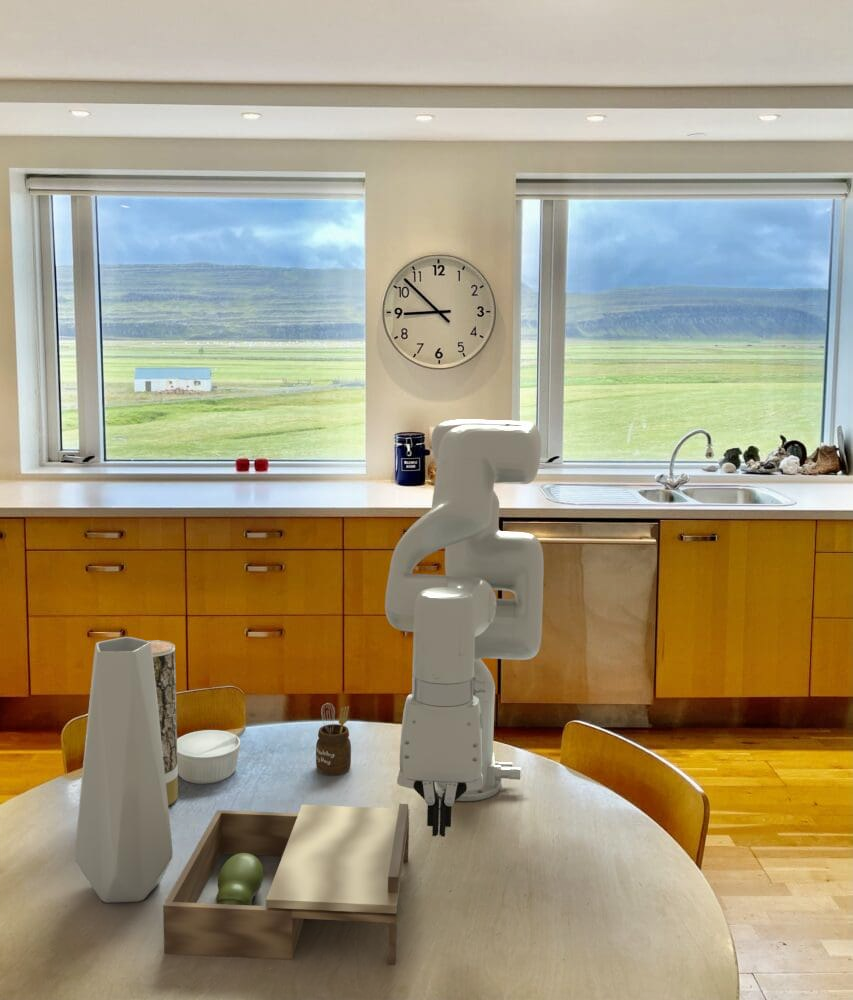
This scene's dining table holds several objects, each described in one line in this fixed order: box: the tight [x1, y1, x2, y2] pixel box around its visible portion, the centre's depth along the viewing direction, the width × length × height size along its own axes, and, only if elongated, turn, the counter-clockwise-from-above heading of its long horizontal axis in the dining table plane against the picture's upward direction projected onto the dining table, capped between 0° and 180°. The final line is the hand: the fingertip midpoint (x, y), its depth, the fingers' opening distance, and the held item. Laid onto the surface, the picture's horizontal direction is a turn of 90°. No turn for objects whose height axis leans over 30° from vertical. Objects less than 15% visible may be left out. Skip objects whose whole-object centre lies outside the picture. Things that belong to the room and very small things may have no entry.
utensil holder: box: [315, 702, 352, 776], centre depth 155 cm, size 6×6×12 cm
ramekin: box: [177, 729, 242, 785], centre depth 154 cm, size 11×11×5 cm
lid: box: [265, 803, 410, 914], centre depth 116 cm, size 15×23×3 cm, turn 177°
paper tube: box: [147, 639, 179, 807], centre depth 142 cm, size 7×7×25 cm
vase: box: [74, 636, 174, 904], centre depth 117 cm, size 12×12×33 cm
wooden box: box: [162, 809, 410, 965], centre depth 117 cm, size 27×23×6 cm
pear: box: [215, 853, 264, 906], centre depth 117 cm, size 6×5×10 cm
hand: (438, 831), depth 115 cm, fingers closed
